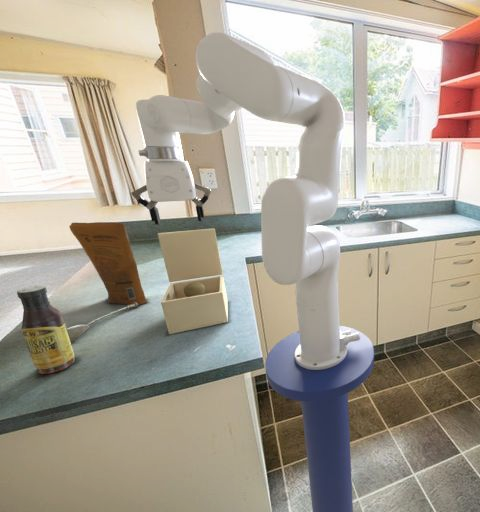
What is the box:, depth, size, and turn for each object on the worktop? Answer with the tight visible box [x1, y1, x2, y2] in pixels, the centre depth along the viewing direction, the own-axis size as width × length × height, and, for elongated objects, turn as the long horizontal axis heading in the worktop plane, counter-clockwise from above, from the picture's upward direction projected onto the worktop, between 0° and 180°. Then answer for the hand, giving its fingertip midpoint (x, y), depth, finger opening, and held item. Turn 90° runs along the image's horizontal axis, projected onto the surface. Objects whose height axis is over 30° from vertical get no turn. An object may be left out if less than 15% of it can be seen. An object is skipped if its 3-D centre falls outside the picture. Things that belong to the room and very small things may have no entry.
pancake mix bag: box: [68, 221, 148, 306], centre depth 96 cm, size 7×19×28 cm, turn 77°
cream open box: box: [160, 275, 229, 335], centre depth 90 cm, size 15×15×10 cm
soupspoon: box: [66, 303, 139, 343], centre depth 86 cm, size 22×3×7 cm
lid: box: [157, 227, 224, 283], centre depth 94 cm, size 15×15×5 cm
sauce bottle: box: [16, 284, 76, 375], centre depth 66 cm, size 6×6×20 cm
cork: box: [184, 283, 205, 297], centre depth 87 cm, size 6×6×11 cm
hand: (179, 222), depth 80 cm, fingers open, 9 cm apart
